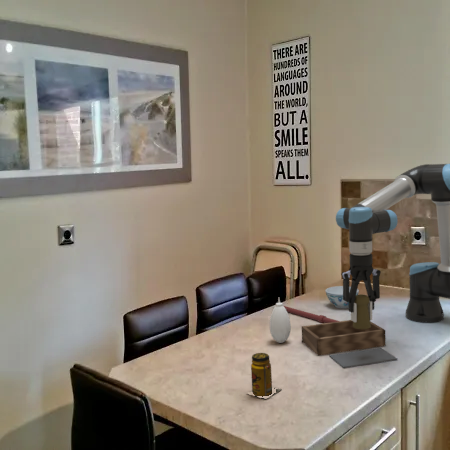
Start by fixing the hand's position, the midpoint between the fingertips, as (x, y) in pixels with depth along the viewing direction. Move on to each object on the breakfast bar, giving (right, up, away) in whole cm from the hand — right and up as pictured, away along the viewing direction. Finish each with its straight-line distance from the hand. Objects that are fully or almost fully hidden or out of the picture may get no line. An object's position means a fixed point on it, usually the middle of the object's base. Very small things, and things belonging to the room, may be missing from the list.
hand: (361, 320), depth 184 cm
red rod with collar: (-9, -9, +48) cm, 49 cm away
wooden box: (-3, -12, +17) cm, 21 cm away
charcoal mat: (+1, -14, +2) cm, 14 cm away
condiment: (-35, -19, -20) cm, 44 cm away
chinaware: (+7, -5, +64) cm, 65 cm away
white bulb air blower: (-25, -13, +22) cm, 36 cm away
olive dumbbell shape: (0, -2, 0) cm, 2 cm away
